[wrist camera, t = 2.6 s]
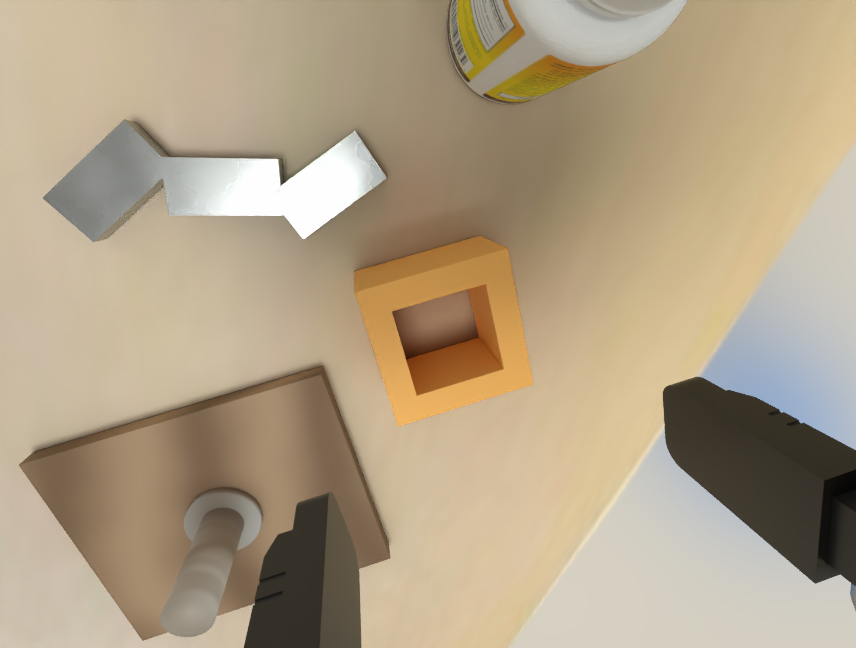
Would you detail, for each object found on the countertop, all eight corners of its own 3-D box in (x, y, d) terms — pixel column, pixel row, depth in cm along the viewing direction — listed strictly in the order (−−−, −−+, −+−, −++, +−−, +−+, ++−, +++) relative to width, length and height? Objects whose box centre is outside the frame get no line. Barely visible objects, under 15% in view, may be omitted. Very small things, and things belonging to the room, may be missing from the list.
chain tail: (355, 67, 18) (355, 61, 17) (394, 211, 20) (396, 213, 19) (33, 148, 17) (15, 146, 16) (108, 290, 19) (95, 296, 18)
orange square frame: (480, 235, 21) (507, 248, 17) (504, 350, 23) (533, 384, 19) (354, 271, 21) (354, 292, 17) (390, 385, 23) (398, 426, 19)
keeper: (322, 366, 22) (311, 439, 16) (388, 544, 26) (400, 657, 20) (33, 451, 21) (-98, 565, 15) (150, 623, 25) (85, 767, 19)
